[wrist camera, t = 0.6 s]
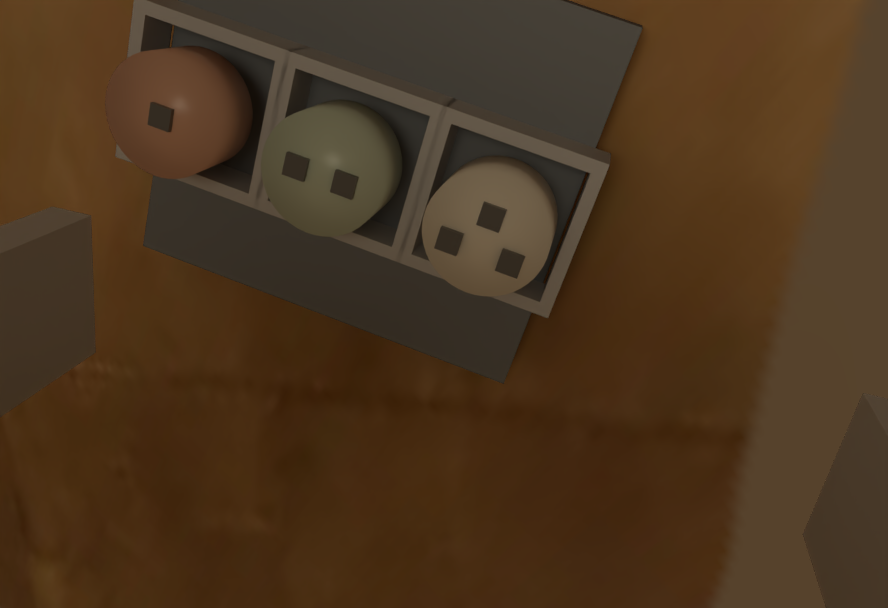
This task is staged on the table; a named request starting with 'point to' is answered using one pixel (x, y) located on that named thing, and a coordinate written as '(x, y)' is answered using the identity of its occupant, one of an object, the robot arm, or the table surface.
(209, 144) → the terracotta button
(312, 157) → the sage button
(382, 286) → the panel
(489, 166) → the cream button
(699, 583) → the table surface
